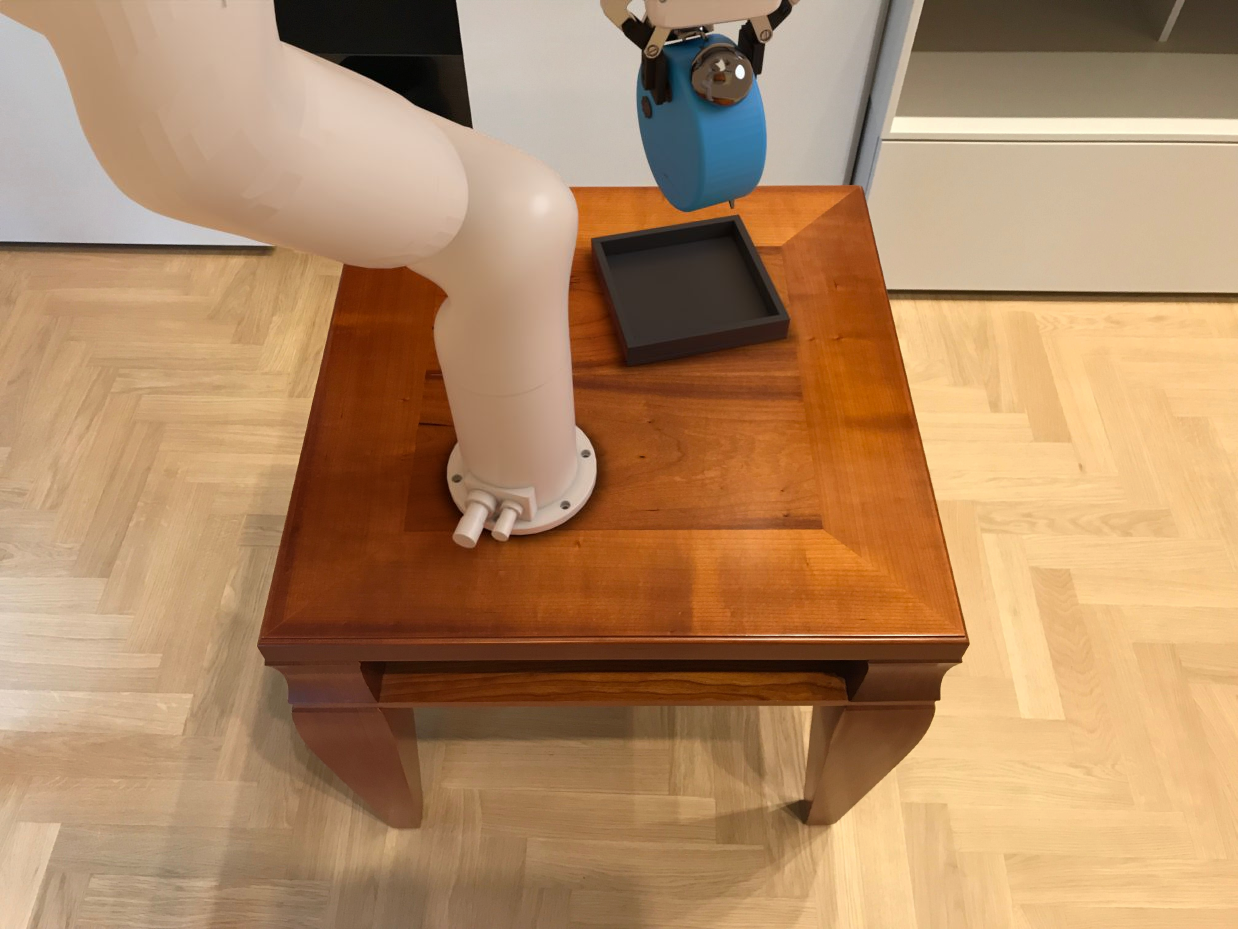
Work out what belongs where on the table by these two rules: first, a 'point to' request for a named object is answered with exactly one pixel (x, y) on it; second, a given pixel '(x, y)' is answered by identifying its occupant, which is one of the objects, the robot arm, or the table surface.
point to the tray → (687, 290)
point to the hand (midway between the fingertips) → (700, 87)
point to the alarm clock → (704, 122)
